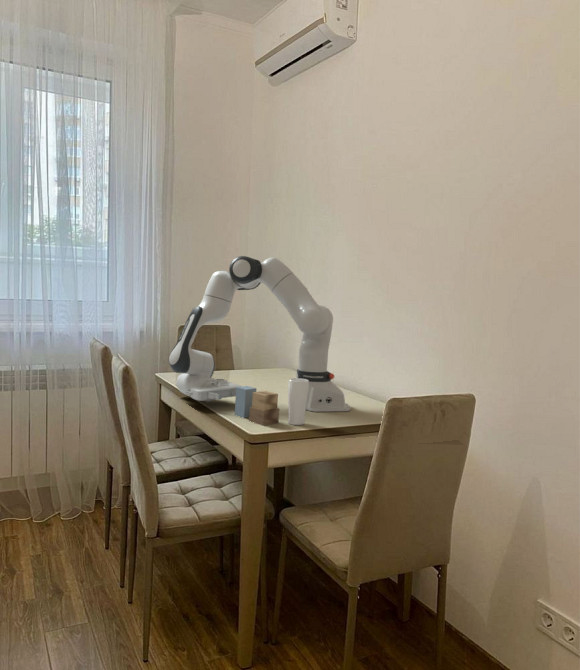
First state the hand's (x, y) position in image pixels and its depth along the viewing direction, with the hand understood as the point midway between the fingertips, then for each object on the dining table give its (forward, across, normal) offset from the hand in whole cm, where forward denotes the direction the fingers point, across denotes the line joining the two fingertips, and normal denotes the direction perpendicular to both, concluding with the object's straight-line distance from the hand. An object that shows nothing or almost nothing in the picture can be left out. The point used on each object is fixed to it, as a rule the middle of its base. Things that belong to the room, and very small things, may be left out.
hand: (230, 395), depth 208 cm
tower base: (+19, 0, +6) cm, 19 cm away
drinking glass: (+26, +8, +6) cm, 28 cm away
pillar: (+9, 0, +6) cm, 10 cm away
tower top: (+19, 0, +1) cm, 19 cm away
